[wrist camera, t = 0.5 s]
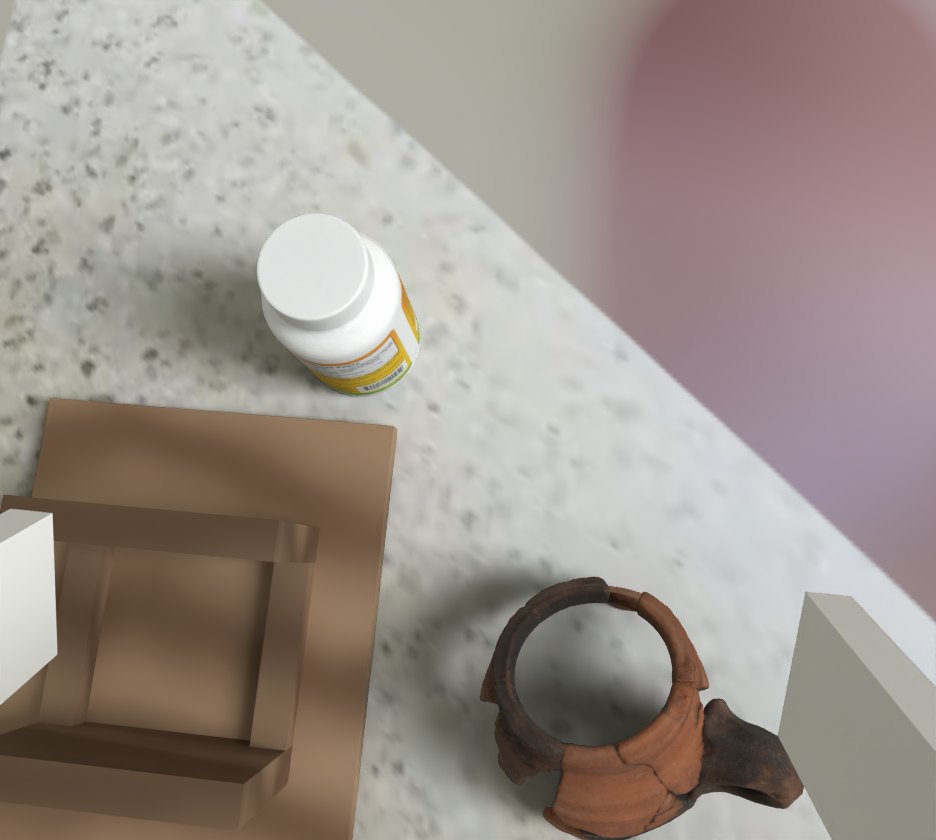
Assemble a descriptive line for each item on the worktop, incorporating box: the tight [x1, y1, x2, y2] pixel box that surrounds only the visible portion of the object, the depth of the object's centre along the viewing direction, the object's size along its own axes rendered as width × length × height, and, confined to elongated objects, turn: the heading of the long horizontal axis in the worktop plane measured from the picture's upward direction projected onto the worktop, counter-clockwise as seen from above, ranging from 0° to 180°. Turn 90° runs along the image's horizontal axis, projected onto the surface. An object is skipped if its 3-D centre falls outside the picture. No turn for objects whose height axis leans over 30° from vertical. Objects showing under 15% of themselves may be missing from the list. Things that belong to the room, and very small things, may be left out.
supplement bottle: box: [257, 213, 420, 396], centre depth 32 cm, size 5×5×10 cm
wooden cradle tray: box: [0, 398, 397, 840], centre depth 32 cm, size 20×16×7 cm
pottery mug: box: [480, 577, 804, 840], centre depth 31 cm, size 12×10×8 cm
